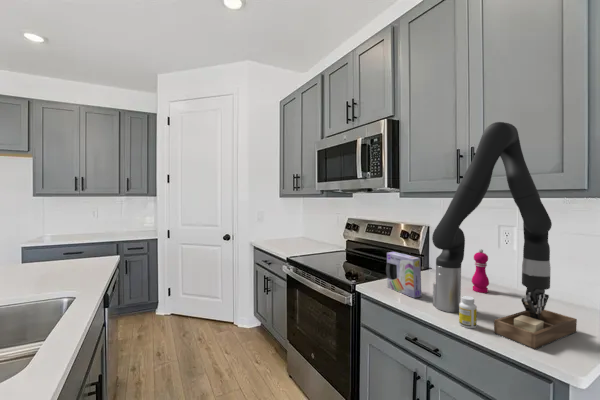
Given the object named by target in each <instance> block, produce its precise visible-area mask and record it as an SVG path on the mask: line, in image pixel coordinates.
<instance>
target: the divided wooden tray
mask: <svg viewBox="0 0 600 400" xmlns="http://www.w3.org/2000/svg"><path fill="white" fill-rule="evenodd" d="M521 315H524V316H528V317H530V312H527V311H526V310H522V311H519V312H516V313H512V314H510V315H507V316H504V317H503V316H502V317H499V318H497V319H494V321H493V322H494V323H493V334H494V333H495V335H497V334H498V336H499V335H500V337H502V336H503V337H502V338H504V337H505V339H507V340H509V339H510V340H509V341H512V342H514V341H515V342H514V343H517V344H519V343H520V344H519V345H522V346H524V345H525V347H527V348H530V349H532V350H538V349H540V348H543V347H544V346H547V345H549V344H552V343H554V342H556V341H558V340H562V339H564V338H566V337H569V336H571V335H573V334H576V333H577V323H578V320H577V318H575V317H571V316H567V315H565V314H561V313H558V312H554V311H550V310H547V309H544V311H541V314H540V320H541V321H544V325H543V329H542V330H539V331H537V332H534V333H533V332H530V331H527V330H524V329H521V328H519V327H516V326H514V318H517V317H519V316H521ZM542 346H543V347H542Z"/></svg>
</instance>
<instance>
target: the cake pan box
mask: <svg viewBox="0 0 600 400" xmlns="http://www.w3.org/2000/svg"><path fill="white" fill-rule="evenodd" d="M421 262H422V261H421V257H417V256H413V255H409V254H406V253H400V252H397V251H390V252H389V251H388V252H386V266H385V274H386V278H387V279H386V281H387V286H386V287H387V288H388V289H391V290H393V291H396V292H397V293H398V292H399V293H401V294H403V295H405V296H409V297H411V298H413V299H417V298H422V272H421V271H422V270H421V269H422V268H421Z"/></svg>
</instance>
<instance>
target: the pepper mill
mask: <svg viewBox="0 0 600 400" xmlns="http://www.w3.org/2000/svg"><path fill="white" fill-rule="evenodd" d="M473 260H474V261H475V262H474V266H475V272H474V274H473V275H472V278H471V283H472V291H473V292H476V293H481V294H488V293H489V291H488V290H489V289H488V286H489V285H490V280H489V277H488V276H487V271H486V268H487V266H488V265H487V264H488V261H489V256H488V255H487V254H486V253H485V252H484V249H481V248H480V249H479V250H478V252H476V253H474V255H473Z"/></svg>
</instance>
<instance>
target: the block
mask: <svg viewBox="0 0 600 400" xmlns="http://www.w3.org/2000/svg"><path fill="white" fill-rule="evenodd" d="M543 325H544V321H541V320H538V319H534V318H531V317H528V316H524V315H521V316H519V317H517V318H514V326H516V327H519V328H521V329H524V330H527V331H530V332H533V333H534V332H537V331H539V330H542V329H543Z"/></svg>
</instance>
